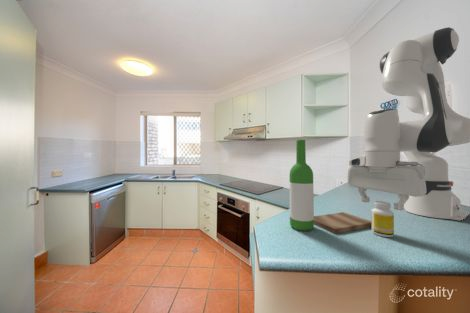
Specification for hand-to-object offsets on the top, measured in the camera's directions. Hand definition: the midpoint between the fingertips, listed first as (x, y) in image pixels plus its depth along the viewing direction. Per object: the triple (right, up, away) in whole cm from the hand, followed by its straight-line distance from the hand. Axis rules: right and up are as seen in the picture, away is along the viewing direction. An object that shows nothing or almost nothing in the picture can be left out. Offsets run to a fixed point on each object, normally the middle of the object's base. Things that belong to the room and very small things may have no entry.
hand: (380, 205), depth 56 cm
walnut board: (-8, -9, +9) cm, 15 cm away
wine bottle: (-23, -9, +6) cm, 25 cm away
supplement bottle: (+1, -9, 0) cm, 9 cm away
